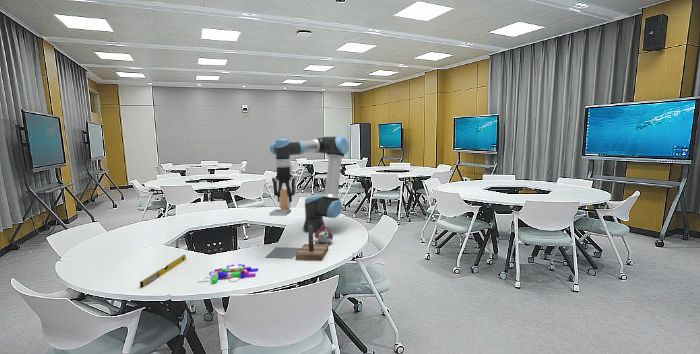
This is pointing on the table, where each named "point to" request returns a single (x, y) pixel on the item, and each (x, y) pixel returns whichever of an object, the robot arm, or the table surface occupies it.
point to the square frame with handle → (282, 205)
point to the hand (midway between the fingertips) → (285, 207)
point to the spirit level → (162, 271)
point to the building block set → (230, 273)
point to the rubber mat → (283, 252)
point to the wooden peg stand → (311, 249)
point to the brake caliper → (323, 236)
